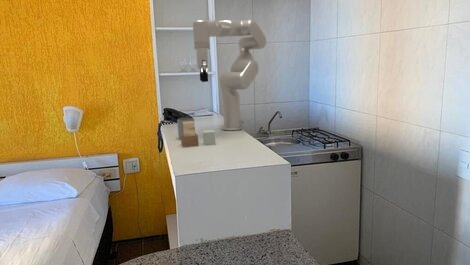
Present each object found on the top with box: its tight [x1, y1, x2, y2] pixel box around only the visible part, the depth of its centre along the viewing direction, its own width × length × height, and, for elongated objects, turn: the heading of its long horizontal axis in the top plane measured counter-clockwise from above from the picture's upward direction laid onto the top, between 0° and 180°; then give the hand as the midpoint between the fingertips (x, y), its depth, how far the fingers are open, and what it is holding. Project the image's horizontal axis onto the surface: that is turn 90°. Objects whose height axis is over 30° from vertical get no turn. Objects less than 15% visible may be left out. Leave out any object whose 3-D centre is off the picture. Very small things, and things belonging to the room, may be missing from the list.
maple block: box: [183, 120, 196, 137], centre depth 172 cm, size 5×5×6 cm
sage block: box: [202, 129, 216, 146], centre depth 174 cm, size 5×5×6 cm
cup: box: [177, 117, 196, 141], centre depth 189 cm, size 8×8×10 cm
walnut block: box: [180, 132, 199, 148], centre depth 174 cm, size 7×7×5 cm
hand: (204, 81), depth 186 cm, fingers open, 9 cm apart
